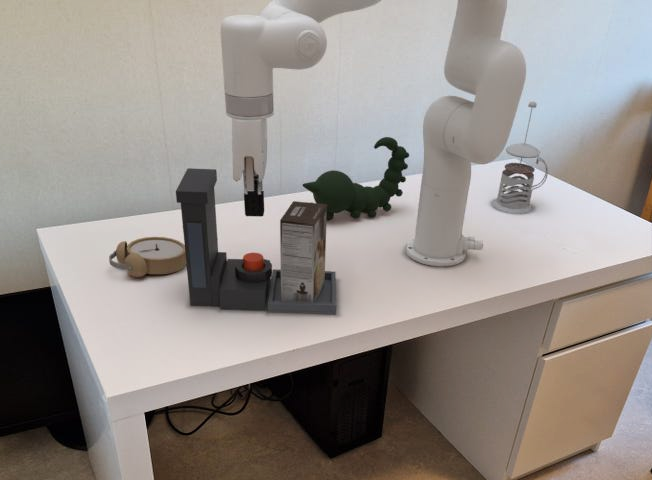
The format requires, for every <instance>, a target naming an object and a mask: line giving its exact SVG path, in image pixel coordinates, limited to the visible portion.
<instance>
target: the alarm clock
mask: <svg viewBox="0 0 652 480" xmlns="http://www.w3.org/2000/svg"><path fill="white" fill-rule="evenodd" d="M115 258H116V260H117V262H116V261H114V260H113V259H115ZM108 262H109V265H110V266H112V267H113V268H115V269H119V270H126V271H127V272H128V274H129V275H130V276H132V277H134V278H142V277H144V276H145V275H147V274H148V275H168V274H173V273H176V272H179V271H181V270H183V269H184V268H185V267H186V266H187V265H186V254H185V244H184V242H181V241H180V240H177V239H174V238H170V237H164V236H147V237H140V238H137V239H135V240H132V241H130V242H129V243H128V242H127V240H125V241H121V242H119V243H118V245H117V246H116V249H115V250H114V251H113V252H112V253H110V254H109V256H108Z"/></svg>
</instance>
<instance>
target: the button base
mask: <svg viewBox="0 0 652 480" xmlns="http://www.w3.org/2000/svg"><path fill="white" fill-rule="evenodd" d="M263 261H264V268H263V269H261V270H257V271H249V270H246V269H244V265H243V258H227V263H226V267H225V270H224V274H223V277H222V281H221V285H220V288H219V294H220V307H219V309H220V310H221V311H247V312H249V311H252V312H253V311H254V312H266V311H267V305H268V298H269V291H270V284H271V277H272V271H273V264H272V262H271V260H270V259H265V258H263Z"/></svg>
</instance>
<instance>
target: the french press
mask: <svg viewBox="0 0 652 480" xmlns="http://www.w3.org/2000/svg"><path fill="white" fill-rule="evenodd" d="M527 107H528V108H531V110H530V113H529V118H528V123H527V128H526V133H525V138H524V142H520V143H519V142H518V143H514V144H513V143H512V144H510V145H508V146H507V147H506V148H505V153H507V155H510V156H512V157H516V158H520V162H509V163H506V164H505V165H504V169H503V170H502V172H501V177H500V182H499V188H498V193H497V198H496V199H495V200H493V201H492V203H491V205H492V206H493V208H495V209H496V210H498V211H501V212H504V213H508V214H519V215H521V214H527V213H529V212H531V211H532V209H533V207H532V205H530V204H531V203H530V202H531V198H532V194H533V191H534V190H537V189H539V188H540V187H542V186H543V185H544V184H545V182H546V180H547V178H548V175H549V167H548V164H547V163H546V161H545V160H544V159H543V158H542V157H540V155H541V151H540V150H539V149H538V148H537V147H536V146H534V145H532V144H531V143H530V144H529V143H527V142H526V141H527V137H528V132H529V127H530V122H531V118H532V117H531V116H532V112H533V109H536V108H537V102H536V101H529V103H528V105H527ZM534 158H536V160H535V161H536V162H535V164H536V165H537V166H538V165H539V162H542V163H543V164H544V166H545V173H544V176H543V178H542V179H541V181H540V182H539V183H537V184H534V181H535V173H534V172H535V168H534V167H533V166H532V165H529V164H526V163H522V161H523V159H534ZM516 174H517V175H516ZM513 175H514V176H513ZM521 175H524V176H525V177H523V176H521ZM519 185H521V186H519ZM507 187H508V188H507ZM519 190H520V191H519Z"/></svg>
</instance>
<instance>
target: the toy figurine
mask: <svg viewBox="0 0 652 480" xmlns="http://www.w3.org/2000/svg"><path fill="white" fill-rule="evenodd" d="M380 147H386V149H388V150H389V151H391V157H390V158H389V160H388V162H387V167H388V168H386V169H385V171H384V173H383V178H382V179H381V180H380V181H379V183H378V185H374V186H373V187H372V186H363V184H360V183H358V182H353V180H352V179H351V177H350V176H349V175H347V174H346V173H344V172H342V171H340V170H334V169H333V170H327V171H325V172H323V173H322V174H320V175H319V176H318V177H317V179H316V180H315V181H309V182H304V183H303V184H302V188H304V189H306V190H307V191H309V192H310V193H312V196H313V200H314V203H317V204H327V219H326V222H327V221H328V222H329V221H332V220H333V219H334V218H335V214H340V213H342V212H347V213H349V216H350V218H352V219H353V220H357V219H360V217H361V215H362V213H363V214H366V215H367V216H368V218H369V219H374V218H376V217H377V210H378V209H382V210H383V211H384V212H386V213H388V212H390V211H391V210H392V204H391V203H389V202H390V200H391V198H392V197H395V196H396V197H402V196H403V193H404V192H403V190H402V189H401V188H399V184H400V183H405V182H406V181H407V178H406V176H404V175H403V171H406V170H407V169H408V167H409V164H408V163H407V162H406V161H405V160H406V159H408V158H409V157H410V153H409V152H408V151H407V150H406V148H405V147H404V146H402V145H399V144H398V141H397V140H396V139H395V138H393V137H390V136H383V137H381V138H380V139H378V140H377V141H376V142H375V144H374V145H373V148H374V150H376V149H378V148H380Z"/></svg>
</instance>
